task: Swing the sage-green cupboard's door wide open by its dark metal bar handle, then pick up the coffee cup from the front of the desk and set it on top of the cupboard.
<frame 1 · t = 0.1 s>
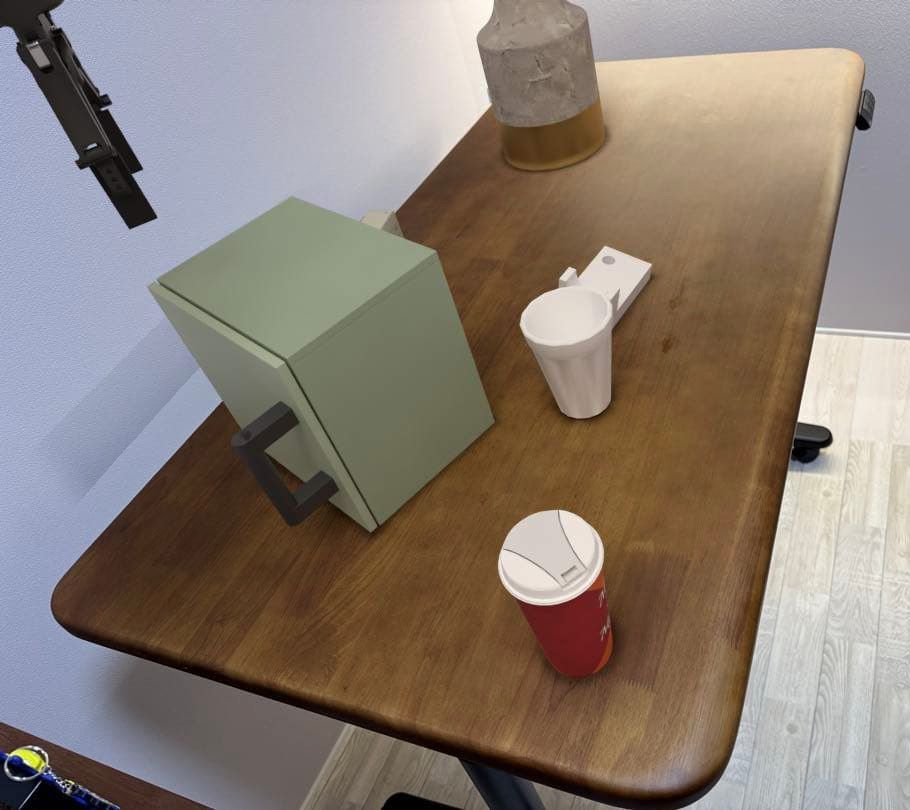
hand: (136, 196, 78), 32 cm above the table, tool pointing down, fingers open, 13 cm apart
cosmetic box: (400, 293, 116), on the table
vase: (554, 146, 140), on the table
cupboard door: (239, 424, 81), point 12 cm above the table, hinge at 0.0°
coffee cup: (579, 646, 69), on the table
cup: (585, 403, 91), on the table
cupboard: (371, 428, 95), on the table
bracket: (610, 305, 103), on the table
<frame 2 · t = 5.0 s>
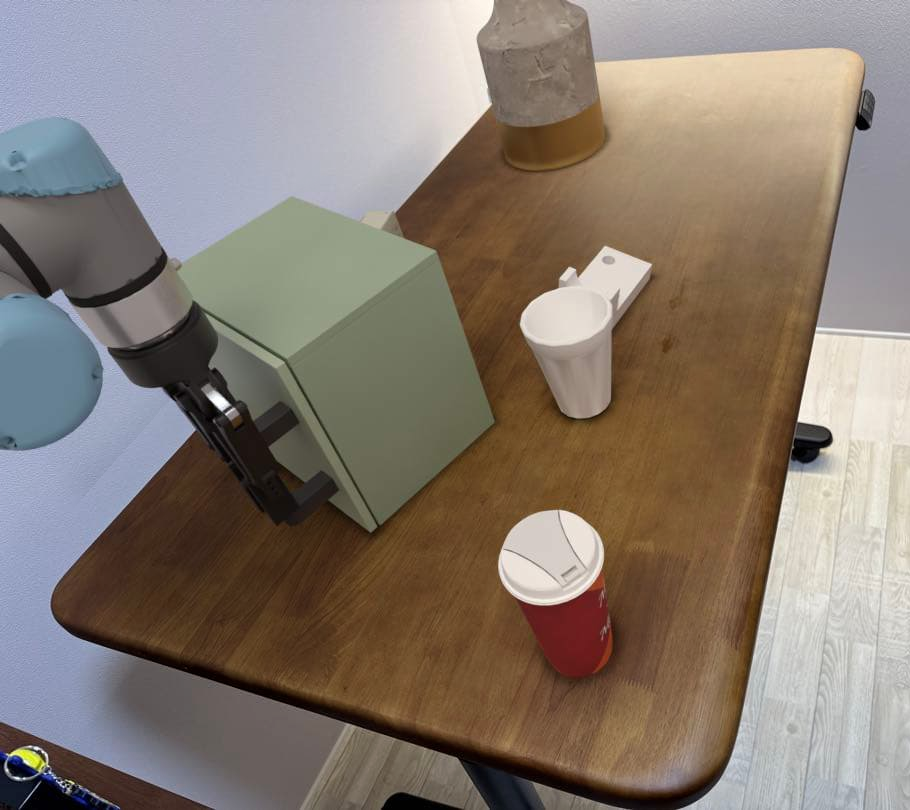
hand: (279, 508, 76), 8 cm above the table, tool pointing down, fingers closed on cupboard door, 2 cm apart
cupboard door: (239, 424, 81), point 12 cm above the table, hinge at 0.0°, touching gripper
everything else where it was.
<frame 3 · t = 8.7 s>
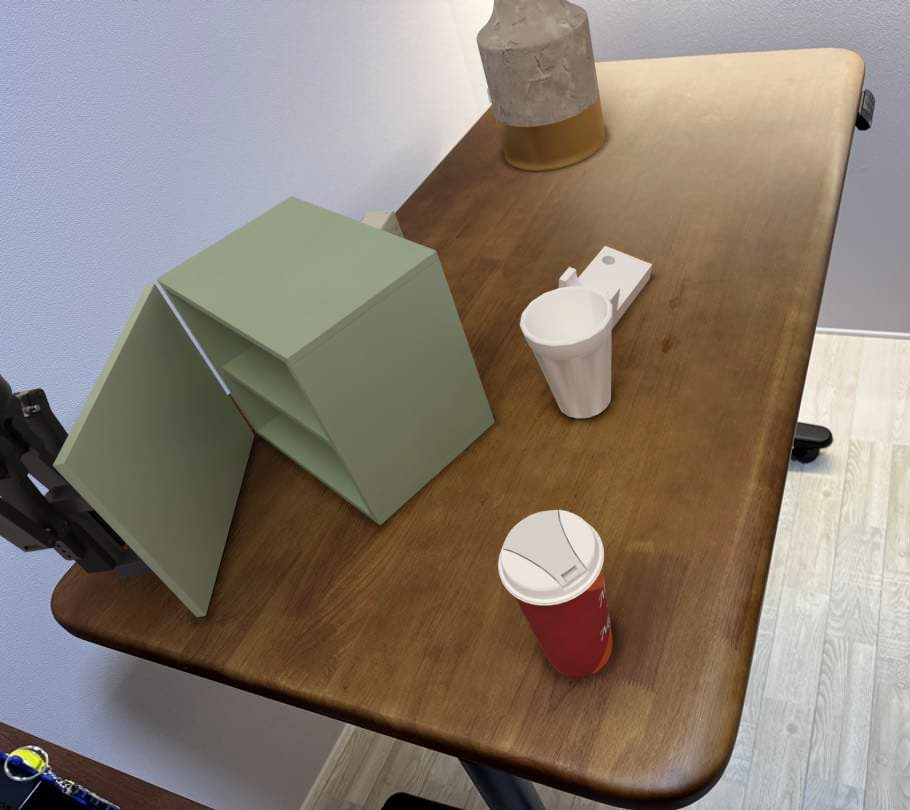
hand: (107, 556, 76), 8 cm above the table, tool pointing down, fingers closed on cupboard door, 2 cm apart
cupboard door: (148, 452, 81), point 12 cm above the table, hinge at 43.2°, touching gripper
everything else where it was.
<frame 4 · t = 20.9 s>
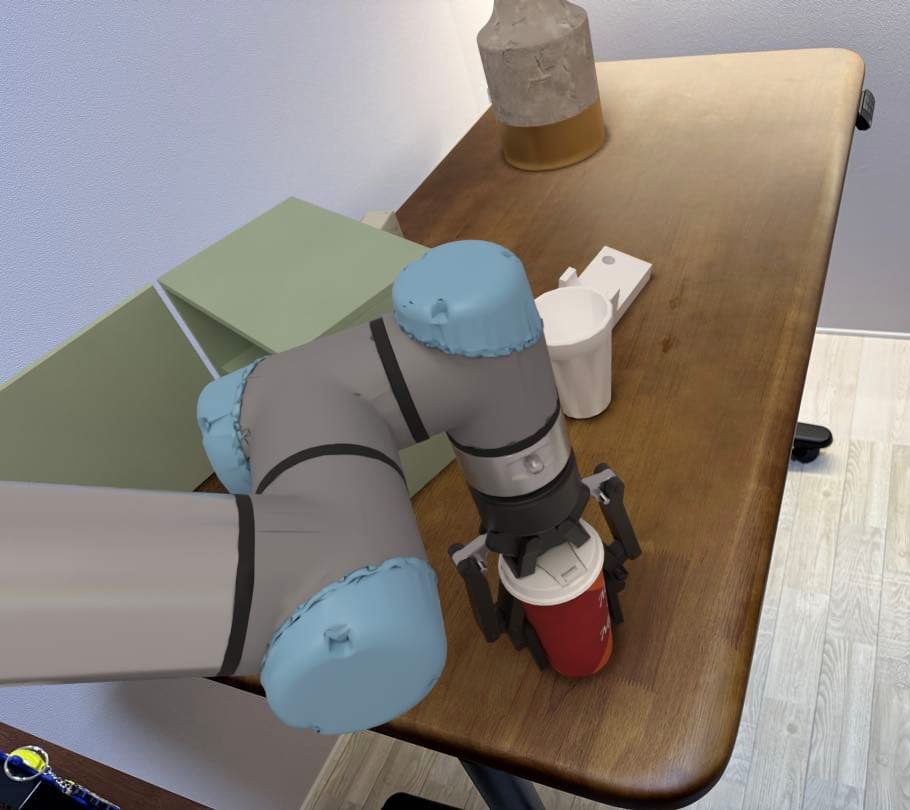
hand: (575, 633, 67), 2 cm above the table, tool pointing down, fingers closed on coffee cup, 7 cm apart
cupboard door: (96, 433, 85), point 12 cm above the table, hinge at 82.9°
coffee cup: (579, 646, 69), on the table, touching gripper
everything else where it was.
when the fingers open (26 cm above the table, at t = 30.9 s): coffee cup stays where it is, resting on cupboard.
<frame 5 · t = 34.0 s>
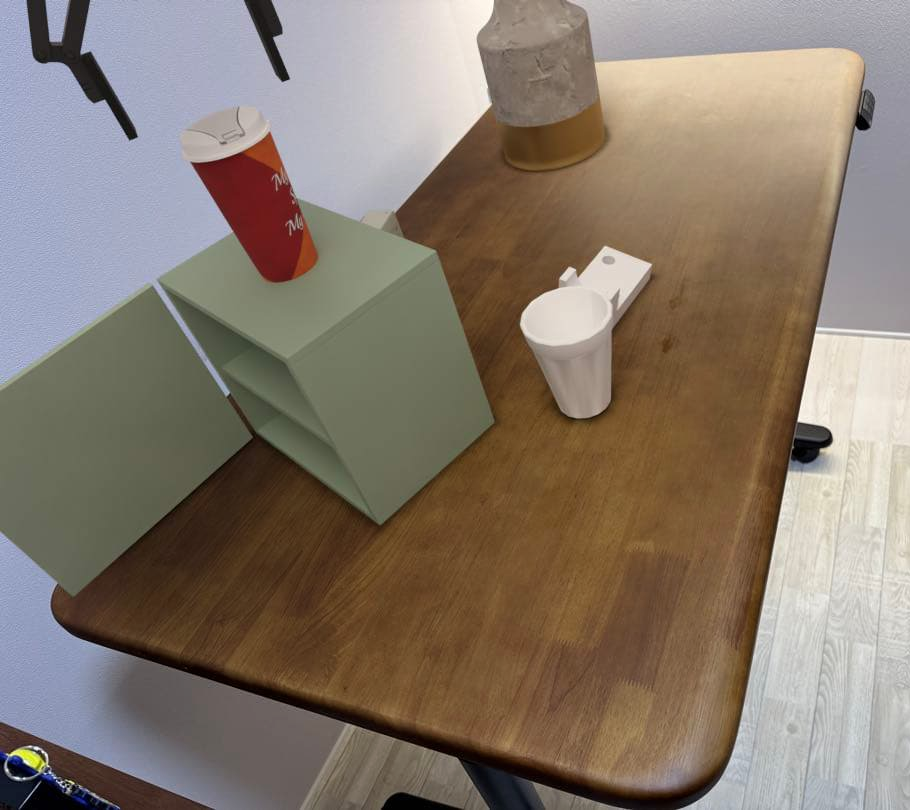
hand: (209, 105, 68), 41 cm above the table, tool pointing down, fingers open, 13 cm apart
coffee cup: (290, 266, 79), point 24 cm above the table, touching cupboard
everything else where it was.
at the end: cupboard door at +83° (first picture: +0°); coffee cup inside the target area on the cupboard (0.0 cm from its centre), point 23.8 cm above the cupboard's base; coffee cup tilted 0° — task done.
